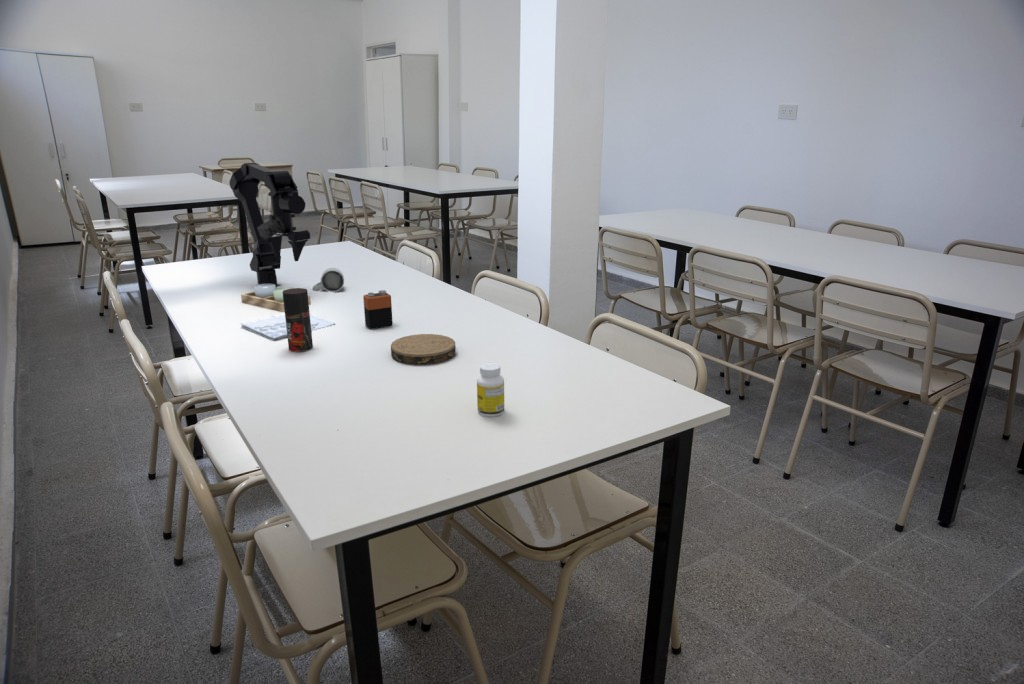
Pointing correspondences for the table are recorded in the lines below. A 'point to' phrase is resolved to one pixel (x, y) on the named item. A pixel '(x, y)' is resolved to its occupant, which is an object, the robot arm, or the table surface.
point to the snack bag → (280, 326)
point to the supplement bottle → (490, 390)
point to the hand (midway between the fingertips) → (287, 259)
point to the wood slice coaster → (423, 349)
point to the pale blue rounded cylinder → (264, 290)
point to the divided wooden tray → (264, 301)
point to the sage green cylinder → (280, 293)
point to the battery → (378, 310)
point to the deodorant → (297, 319)
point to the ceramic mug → (330, 280)
